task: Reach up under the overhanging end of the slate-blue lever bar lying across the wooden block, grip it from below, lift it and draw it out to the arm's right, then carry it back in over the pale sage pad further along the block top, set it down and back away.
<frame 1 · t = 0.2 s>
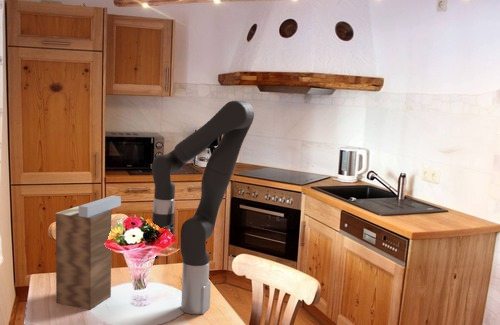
hand: (161, 254, 172), 17 cm above the table, tool pointing down, fingers open, 8 cm apart
wooden block: (84, 299, 172), on the table
lever: (100, 210, 171), point 32 cm above the table, touching wooden block
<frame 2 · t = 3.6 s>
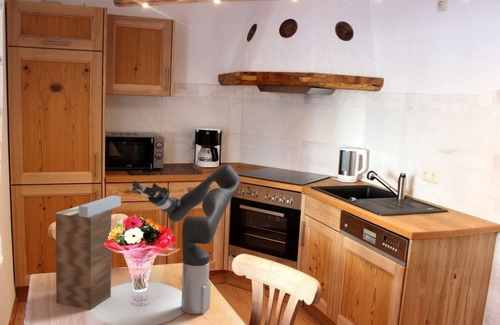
hand: (143, 184, 188), 39 cm above the table, tool pointing upward, fingers open, 8 cm apart
nothing on the table moved.
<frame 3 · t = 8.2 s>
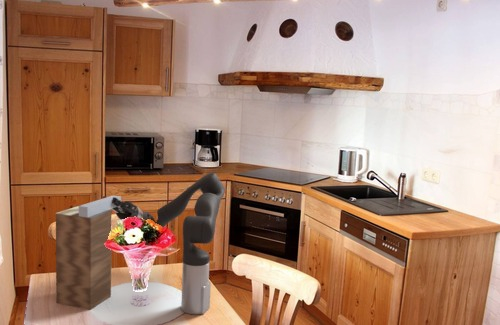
hand: (108, 199, 175), 35 cm above the table, tool pointing upward, fingers closed on lever, 3 cm apart
lever: (100, 210, 171), point 32 cm above the table, touching wooden block, gripper
when the fingers open (36 cm above the table, at t = 13.9 s): lever stays where it is, resting on wooden block.
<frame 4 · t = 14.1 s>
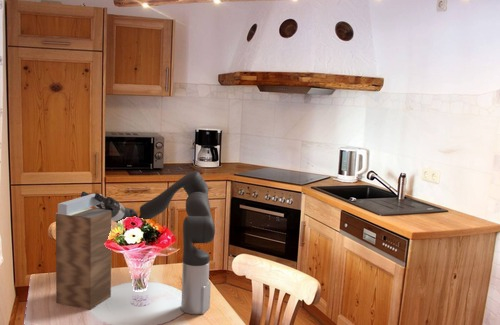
hand: (89, 194, 177), 36 cm above the table, tool pointing upward, fingers open, 5 cm apart
lever: (81, 208, 173), point 32 cm above the table, touching wooden block
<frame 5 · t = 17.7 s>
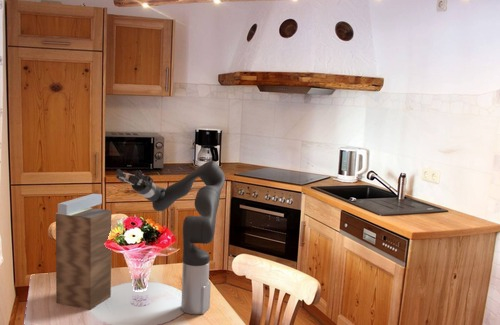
hand: (126, 172, 190), 43 cm above the table, tool pointing upward, fingers open, 8 cm apart
nothing on the table moved.
at the end: lever inside the target area (0.1 cm from its centre), point 32.2 cm above the table; the gripper is holding nothing; lever moved 8.0 cm from its start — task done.
